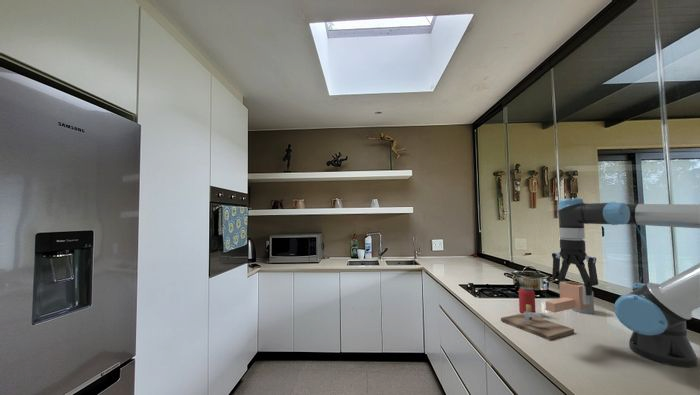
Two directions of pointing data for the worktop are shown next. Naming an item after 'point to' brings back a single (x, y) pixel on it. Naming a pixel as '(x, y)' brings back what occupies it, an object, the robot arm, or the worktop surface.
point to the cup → (587, 310)
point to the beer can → (526, 298)
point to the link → (567, 298)
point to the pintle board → (538, 325)
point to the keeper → (531, 314)
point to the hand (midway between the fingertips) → (575, 301)
